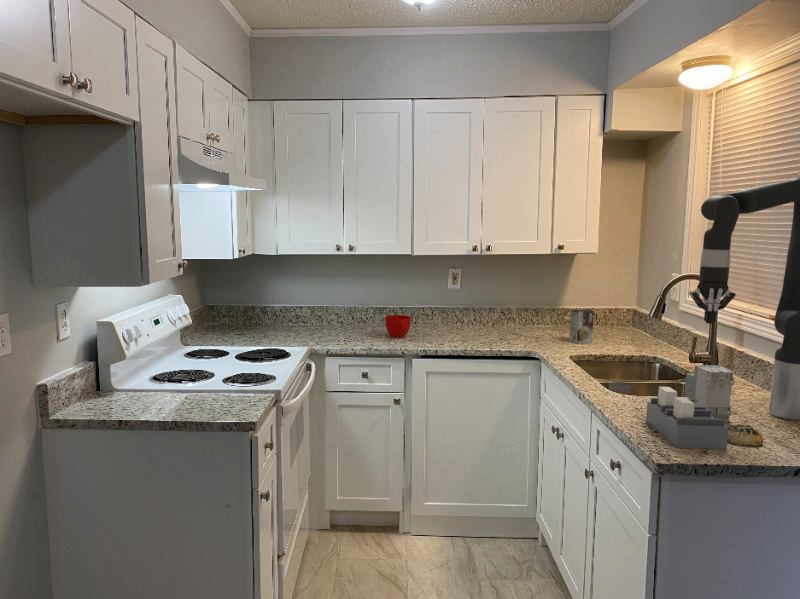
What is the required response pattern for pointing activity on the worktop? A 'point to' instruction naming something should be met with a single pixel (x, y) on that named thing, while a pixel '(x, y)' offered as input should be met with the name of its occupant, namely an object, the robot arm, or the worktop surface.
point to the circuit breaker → (711, 389)
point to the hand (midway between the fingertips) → (709, 323)
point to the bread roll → (744, 435)
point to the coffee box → (581, 326)
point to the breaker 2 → (683, 407)
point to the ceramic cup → (397, 325)
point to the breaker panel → (688, 427)
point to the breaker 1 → (666, 396)
